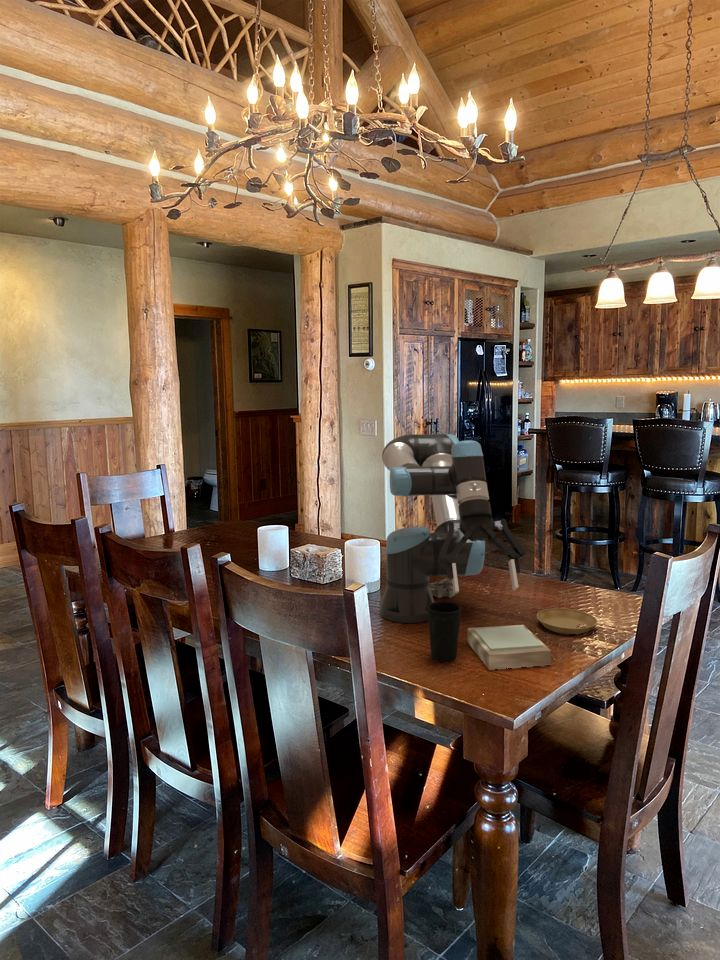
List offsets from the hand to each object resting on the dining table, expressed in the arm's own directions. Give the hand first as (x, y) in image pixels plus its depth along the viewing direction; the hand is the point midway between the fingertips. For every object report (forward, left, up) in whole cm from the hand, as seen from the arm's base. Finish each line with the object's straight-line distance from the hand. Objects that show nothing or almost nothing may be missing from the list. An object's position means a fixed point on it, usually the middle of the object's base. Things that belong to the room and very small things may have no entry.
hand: (486, 590), depth 148 cm
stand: (+1, +5, -15) cm, 16 cm away
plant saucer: (-13, +26, -15) cm, 33 cm away
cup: (+1, -10, -15) cm, 18 cm away
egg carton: (-44, 0, -15) cm, 47 cm away
